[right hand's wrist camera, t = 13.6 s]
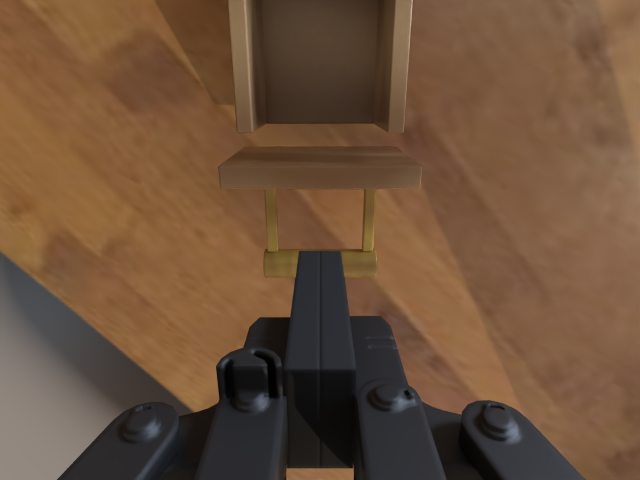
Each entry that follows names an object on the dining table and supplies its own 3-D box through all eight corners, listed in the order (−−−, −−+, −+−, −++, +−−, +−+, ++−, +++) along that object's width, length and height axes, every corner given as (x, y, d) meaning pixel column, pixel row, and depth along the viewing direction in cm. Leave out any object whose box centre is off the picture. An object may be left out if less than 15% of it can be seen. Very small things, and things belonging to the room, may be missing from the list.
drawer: (390, 244, 30) (411, 291, 23) (250, 244, 30) (229, 291, 23) (420, -236, 21) (472, -403, 14) (219, -236, 21) (167, -403, 14)
